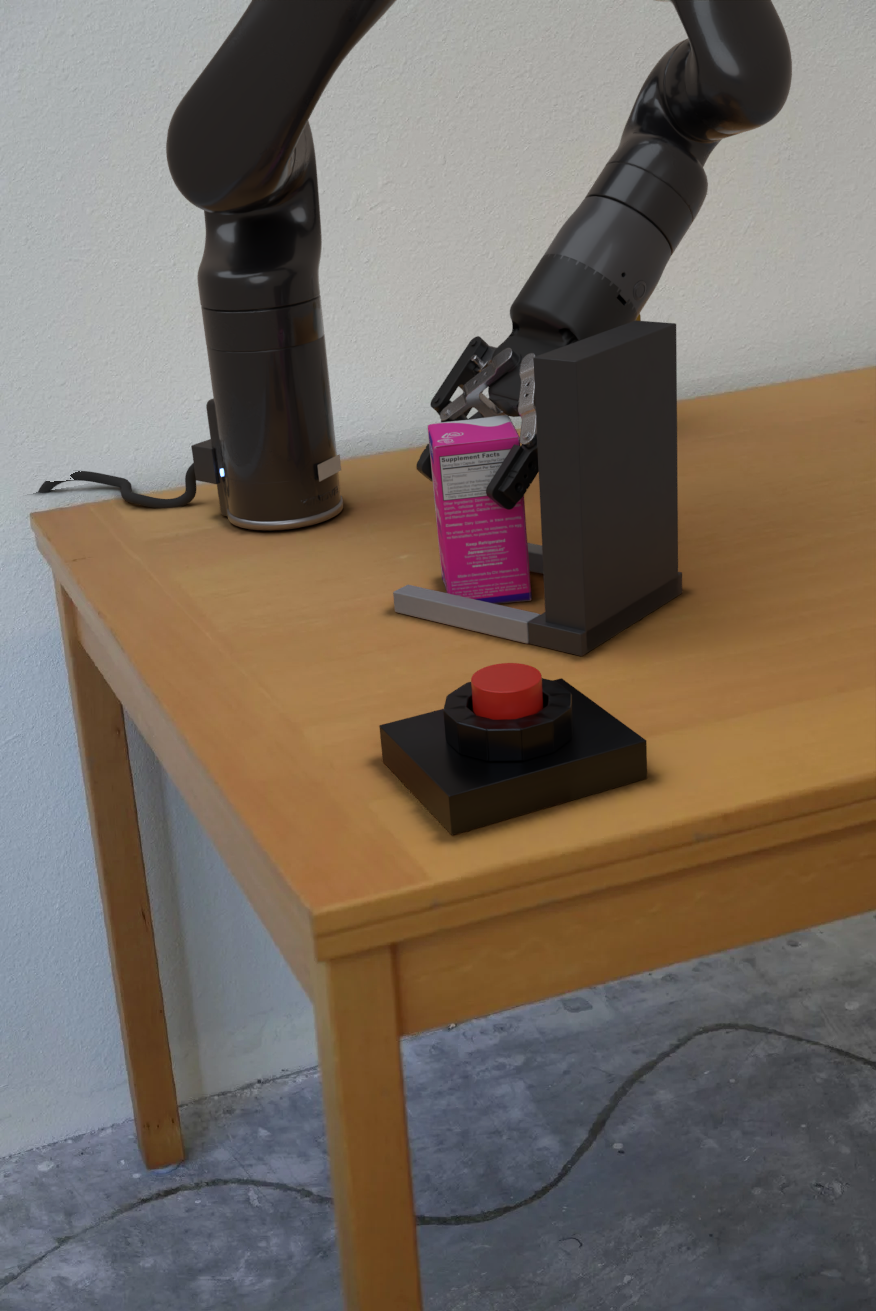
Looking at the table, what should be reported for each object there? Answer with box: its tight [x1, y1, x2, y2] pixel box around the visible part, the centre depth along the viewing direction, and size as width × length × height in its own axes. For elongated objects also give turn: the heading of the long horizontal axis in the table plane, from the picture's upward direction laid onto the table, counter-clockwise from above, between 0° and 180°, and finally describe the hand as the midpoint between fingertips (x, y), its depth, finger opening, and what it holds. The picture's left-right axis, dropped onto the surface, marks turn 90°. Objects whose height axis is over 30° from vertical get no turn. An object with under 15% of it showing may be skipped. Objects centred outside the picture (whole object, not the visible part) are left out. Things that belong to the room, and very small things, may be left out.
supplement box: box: [427, 415, 533, 605], centre depth 99 cm, size 6×6×12 cm
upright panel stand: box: [392, 320, 683, 657], centre depth 95 cm, size 15×12×18 cm
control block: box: [379, 677, 648, 836], centre depth 76 cm, size 11×9×4 cm
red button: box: [470, 662, 543, 720], centre depth 75 cm, size 4×4×2 cm
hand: (461, 489), depth 98 cm, fingers closed on supplement box, 7 cm apart
